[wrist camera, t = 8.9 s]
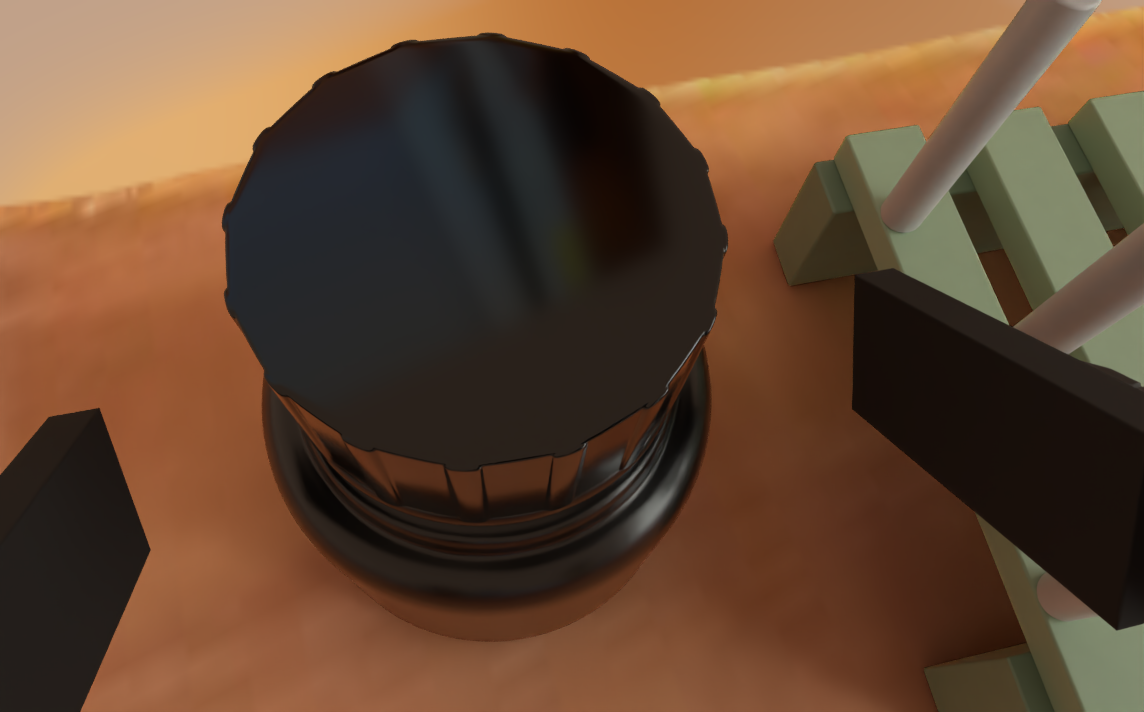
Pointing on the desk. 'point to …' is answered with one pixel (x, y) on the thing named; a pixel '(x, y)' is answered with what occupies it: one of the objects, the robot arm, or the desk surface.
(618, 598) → the desk surface
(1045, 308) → the drying rack
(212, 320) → the desk surface
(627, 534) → the ink bottle
